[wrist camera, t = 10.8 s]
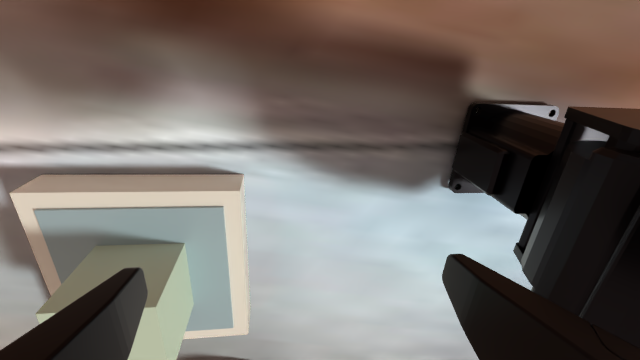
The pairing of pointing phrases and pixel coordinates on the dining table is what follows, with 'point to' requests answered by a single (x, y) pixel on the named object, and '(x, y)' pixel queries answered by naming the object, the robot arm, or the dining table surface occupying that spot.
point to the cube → (162, 301)
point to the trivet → (148, 232)
